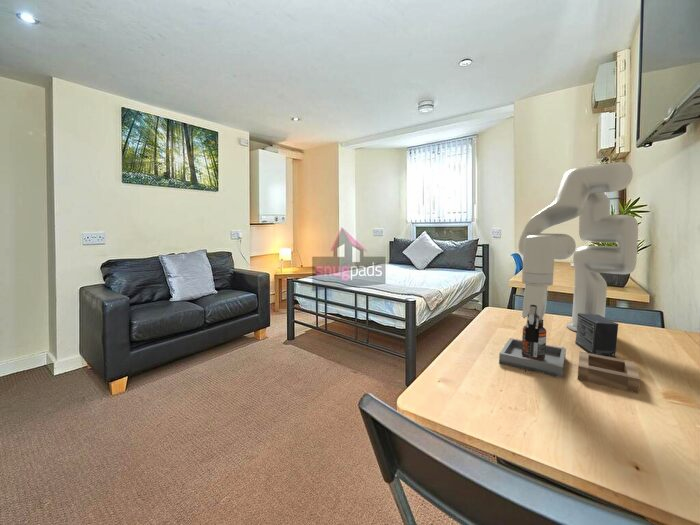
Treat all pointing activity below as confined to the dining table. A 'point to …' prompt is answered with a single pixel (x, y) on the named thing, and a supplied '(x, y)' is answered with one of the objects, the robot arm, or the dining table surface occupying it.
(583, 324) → the small box
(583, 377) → the holder block
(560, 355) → the tray
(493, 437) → the dining table surface
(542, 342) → the supplement bottle
